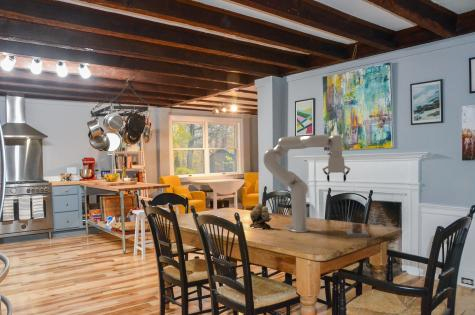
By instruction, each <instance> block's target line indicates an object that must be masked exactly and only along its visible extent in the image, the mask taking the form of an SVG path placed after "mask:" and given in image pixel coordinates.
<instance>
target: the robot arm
mask: <svg viewBox="0 0 475 315" xmlns="http://www.w3.org/2000/svg"><path fill="white" fill-rule="evenodd" d="M307 148H329V152H328V153H327V156H329V157H328V161H327V166H325V167H323V168H322V171H323V173H324V174H325V175H326V180H327V182H328V183H330V174H333V173H336V174H337V173H342V174H343V175H342V176H343V182H346V181H347V175H348V174H349V173H350V171H351V168H350V167H349V166H347V165H345V157H344V156H343V137H342V135H339V134H336V135H335V134H333V135H324V134H319V135H317V134H316V135H295V136H294V135H293V136H283V137H279V139H278V141H277V145H276V146H274V148H270V149H267V150H266V151H265V152H264V155H263V164H264V166H265V168H266V170H267V171H268V172H269V173H271V175H273V176H274V178H276V179H277V180H278V182H280V183H281V184H282V185H283V186H287V187H288V188H290V197H291V223H289V224H287V223H286V224H285V225H284V226H285V228H289V231H291V232H293V233H294V232H295V233H307V232H309V231H310V228H309V227H308V224H307V223H308V222H307V221H308V218H307V216H308V214H307V196H306V194H307V193H308V191H309V187H308V184H307V183H306V182H305V181H304V180H302V179H301V178H300V177H299V176H298V175H297V174H296V173H295V172H293V171H290V170H287V169H286V168H284V166H283V165H282V164H281V163H279V162H278V161H281V159H282V158H283V157H284V156H285V155H286V154H287V153H288V152H289V151H290V150H302V149H303V150H304V149H307ZM345 169H346V170H345ZM326 170H327V171H326Z"/></svg>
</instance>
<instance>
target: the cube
mask: <svg viewBox="0 0 475 315" xmlns="http://www.w3.org/2000/svg"><path fill="white" fill-rule="evenodd" d="M362 227H363V225H362V223H361V222H359V223H357V222H355V223H354V222H352V223H351V231H352V232H353V233H362V231H363V228H362Z"/></svg>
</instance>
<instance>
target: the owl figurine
mask: <svg viewBox="0 0 475 315" xmlns="http://www.w3.org/2000/svg"><path fill="white" fill-rule="evenodd" d="M249 214H250V215H249V217H250V219H251V221H252V223H250V224H249V225H248V227H249V226H250V227H254V228H268V229H271V228H272V227H271V225H270V224H268V223H269V222H271V220H272V217H271V216H270V215H271V214H270V212H269V208H268V206H263V204H262V203H256V205H255V207H253V209H252V210H251V211H250V213H249ZM267 222H268V223H267ZM250 227H249V228H250ZM254 228H253V229H254Z"/></svg>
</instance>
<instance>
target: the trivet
mask: <svg viewBox="0 0 475 315" xmlns="http://www.w3.org/2000/svg"><path fill="white" fill-rule="evenodd" d="M345 234H346V236H347V237H348V238H349V237H350V238H351V237H352V238H357V237H358V238H370V235H369V233H368V232H367V230H362V233H353V232H352V230H345Z"/></svg>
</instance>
